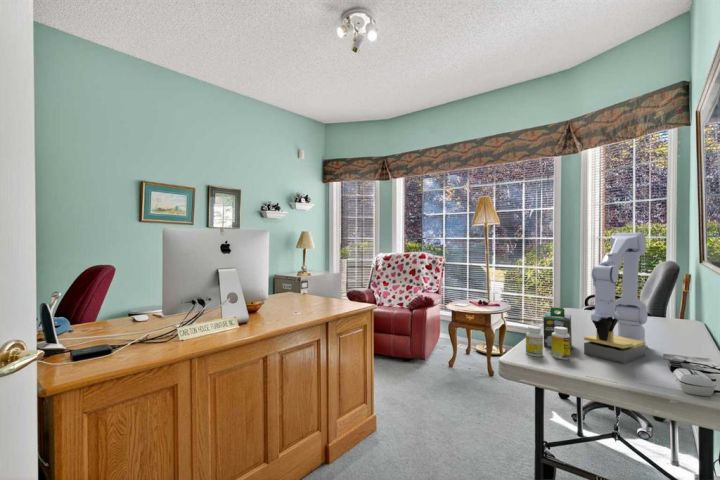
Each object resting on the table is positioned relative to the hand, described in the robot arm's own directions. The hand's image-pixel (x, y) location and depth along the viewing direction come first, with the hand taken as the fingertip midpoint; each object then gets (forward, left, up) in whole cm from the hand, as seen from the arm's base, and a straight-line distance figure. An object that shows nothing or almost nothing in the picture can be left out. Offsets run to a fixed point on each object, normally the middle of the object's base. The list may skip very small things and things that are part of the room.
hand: (604, 339), depth 119 cm
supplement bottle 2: (+13, -8, -7) cm, 17 cm away
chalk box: (0, -16, -7) cm, 18 cm away
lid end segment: (-2, 0, -1) cm, 3 cm away
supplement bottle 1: (+18, -14, -7) cm, 24 cm away
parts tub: (-7, 0, -6) cm, 10 cm away
